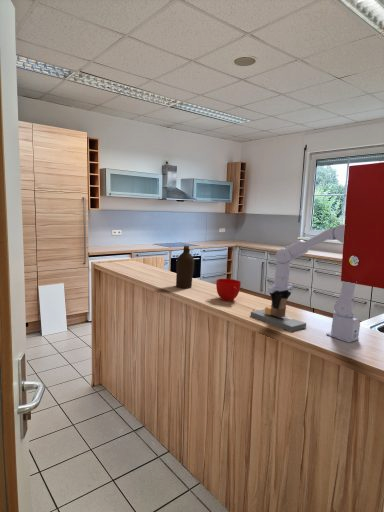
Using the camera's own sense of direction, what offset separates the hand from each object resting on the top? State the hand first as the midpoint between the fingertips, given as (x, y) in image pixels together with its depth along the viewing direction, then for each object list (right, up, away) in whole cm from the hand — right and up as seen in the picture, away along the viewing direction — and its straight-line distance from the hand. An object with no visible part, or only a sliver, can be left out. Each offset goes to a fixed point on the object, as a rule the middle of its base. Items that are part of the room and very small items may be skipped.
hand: (278, 307), depth 143 cm
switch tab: (-3, -3, +4) cm, 6 cm away
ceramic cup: (-18, -1, +32) cm, 37 cm away
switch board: (0, -6, +1) cm, 6 cm away
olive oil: (-43, +4, +57) cm, 71 cm away
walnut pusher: (0, -4, +1) cm, 3 cm away
